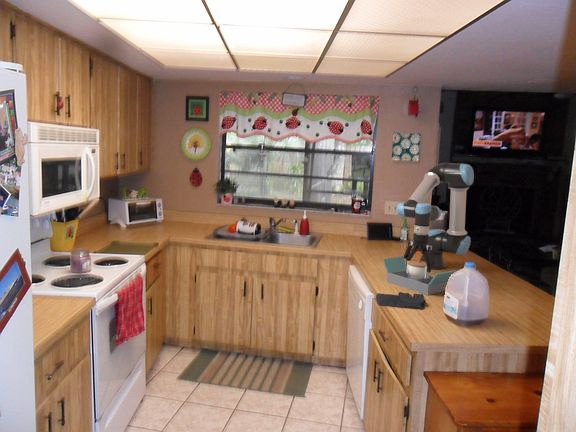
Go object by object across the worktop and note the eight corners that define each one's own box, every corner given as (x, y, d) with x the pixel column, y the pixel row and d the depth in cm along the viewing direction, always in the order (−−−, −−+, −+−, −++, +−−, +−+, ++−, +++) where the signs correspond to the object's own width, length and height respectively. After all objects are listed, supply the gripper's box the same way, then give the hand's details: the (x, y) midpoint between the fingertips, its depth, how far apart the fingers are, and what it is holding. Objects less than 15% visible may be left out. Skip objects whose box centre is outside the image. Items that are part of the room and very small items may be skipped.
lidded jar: (402, 275, 246) (404, 257, 244) (419, 273, 249) (421, 256, 248) (414, 280, 236) (416, 262, 234) (432, 279, 240) (434, 261, 238)
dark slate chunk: (374, 296, 223) (375, 287, 222) (421, 300, 220) (422, 291, 220) (376, 306, 208) (377, 296, 207) (427, 311, 205) (428, 301, 205)
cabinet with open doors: (381, 279, 252) (382, 258, 250) (400, 276, 261) (402, 256, 260) (434, 297, 225) (436, 273, 223) (453, 292, 234) (456, 270, 233)
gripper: (398, 230, 246) (395, 270, 249) (435, 238, 228) (431, 282, 231) (407, 229, 251) (404, 269, 254) (445, 237, 232) (440, 280, 236)
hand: (417, 275), depth 242 cm, fingers closed on lidded jar, 11 cm apart
